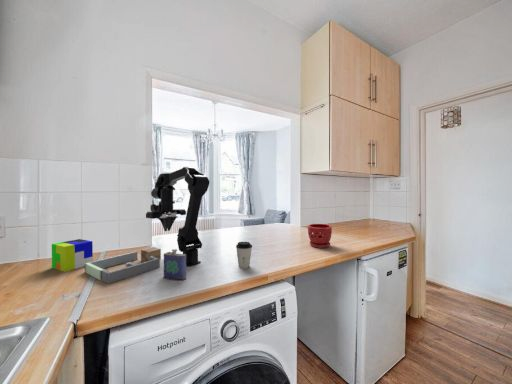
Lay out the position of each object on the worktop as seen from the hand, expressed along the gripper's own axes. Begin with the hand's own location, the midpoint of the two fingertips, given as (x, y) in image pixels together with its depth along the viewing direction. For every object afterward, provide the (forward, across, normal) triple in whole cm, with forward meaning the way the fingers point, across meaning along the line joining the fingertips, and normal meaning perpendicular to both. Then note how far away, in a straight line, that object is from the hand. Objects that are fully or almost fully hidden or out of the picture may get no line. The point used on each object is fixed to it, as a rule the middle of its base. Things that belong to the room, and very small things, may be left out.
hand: (167, 230), depth 109 cm
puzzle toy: (+12, +32, -20) cm, 39 cm away
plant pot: (+12, -60, +57) cm, 83 cm away
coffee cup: (+12, -8, +41) cm, 44 cm away
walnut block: (+12, +8, 0) cm, 15 cm away
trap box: (+12, +21, +2) cm, 25 cm away
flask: (+12, +16, +27) cm, 33 cm away
